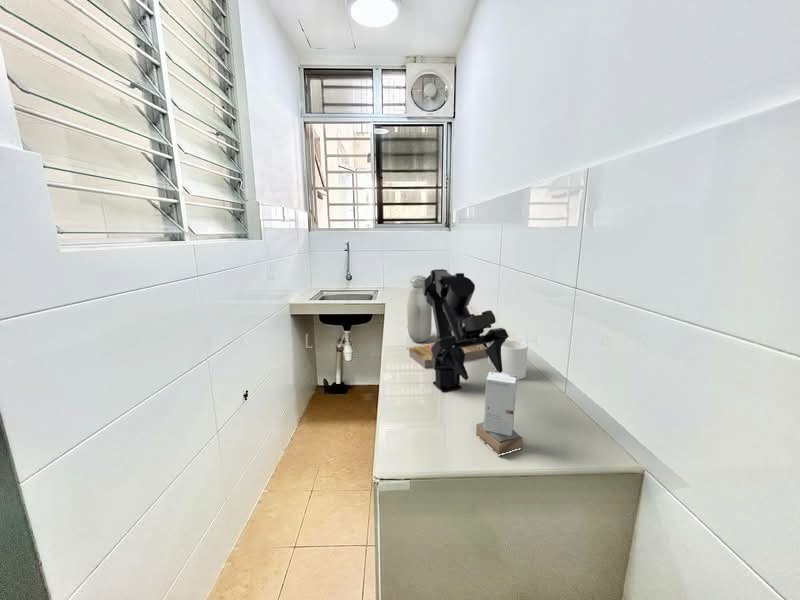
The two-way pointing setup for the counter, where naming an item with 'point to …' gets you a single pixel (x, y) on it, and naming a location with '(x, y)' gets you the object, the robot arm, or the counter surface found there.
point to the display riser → (499, 440)
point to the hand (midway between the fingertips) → (484, 375)
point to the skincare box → (500, 403)
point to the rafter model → (425, 349)
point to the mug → (513, 358)
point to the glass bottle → (418, 311)
